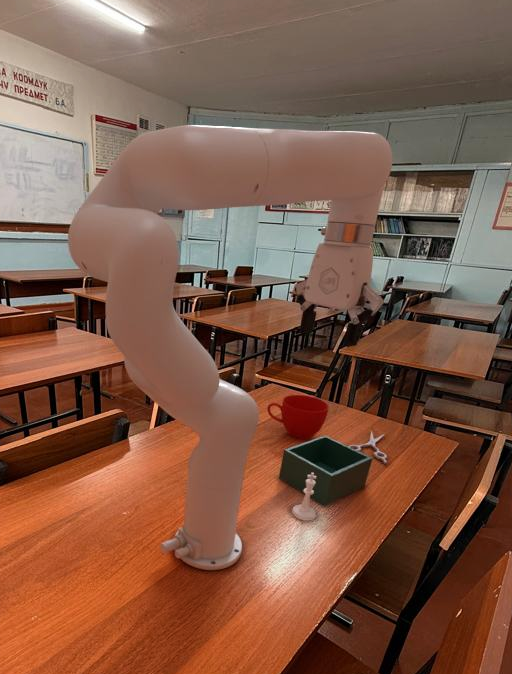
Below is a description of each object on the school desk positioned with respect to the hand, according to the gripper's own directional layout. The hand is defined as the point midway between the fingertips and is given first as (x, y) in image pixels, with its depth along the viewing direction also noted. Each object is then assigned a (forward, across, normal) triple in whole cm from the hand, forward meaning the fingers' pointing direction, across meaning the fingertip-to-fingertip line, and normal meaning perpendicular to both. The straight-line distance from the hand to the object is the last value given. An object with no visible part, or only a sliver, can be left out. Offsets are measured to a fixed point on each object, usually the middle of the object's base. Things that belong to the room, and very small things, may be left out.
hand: (327, 339), depth 79 cm
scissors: (+37, -8, +44) cm, 58 cm away
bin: (+37, -3, +14) cm, 40 cm away
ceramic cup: (+37, -25, +29) cm, 53 cm away
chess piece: (+37, +3, 0) cm, 37 cm away
